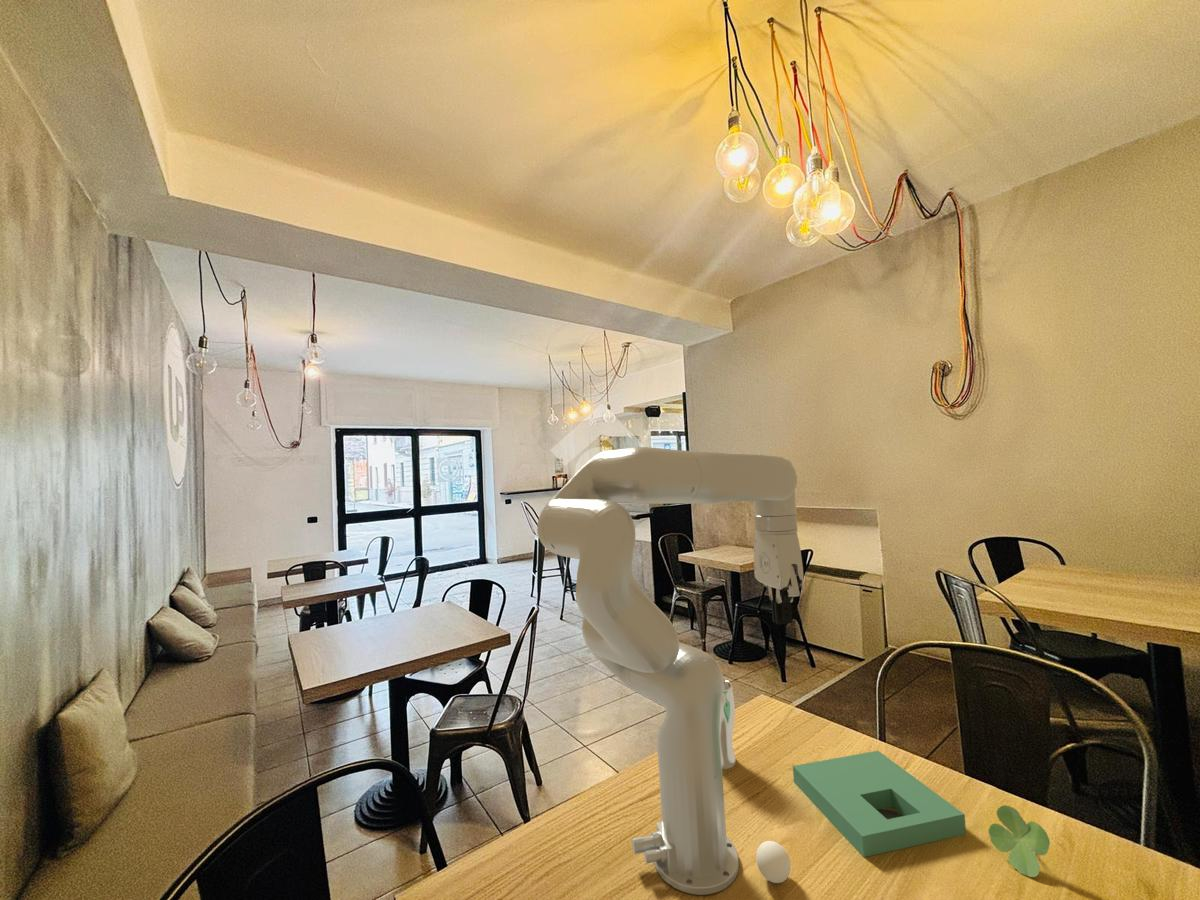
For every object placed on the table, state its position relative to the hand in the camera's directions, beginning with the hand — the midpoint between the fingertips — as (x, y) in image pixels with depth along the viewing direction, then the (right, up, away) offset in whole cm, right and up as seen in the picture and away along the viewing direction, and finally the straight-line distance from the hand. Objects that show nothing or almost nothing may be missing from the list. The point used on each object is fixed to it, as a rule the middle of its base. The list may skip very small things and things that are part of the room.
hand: (782, 622), depth 91 cm
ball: (-10, -26, -22) cm, 35 cm away
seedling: (+30, -27, -18) cm, 44 cm away
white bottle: (-10, -30, +7) cm, 33 cm away
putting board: (+12, -28, -9) cm, 32 cm away
